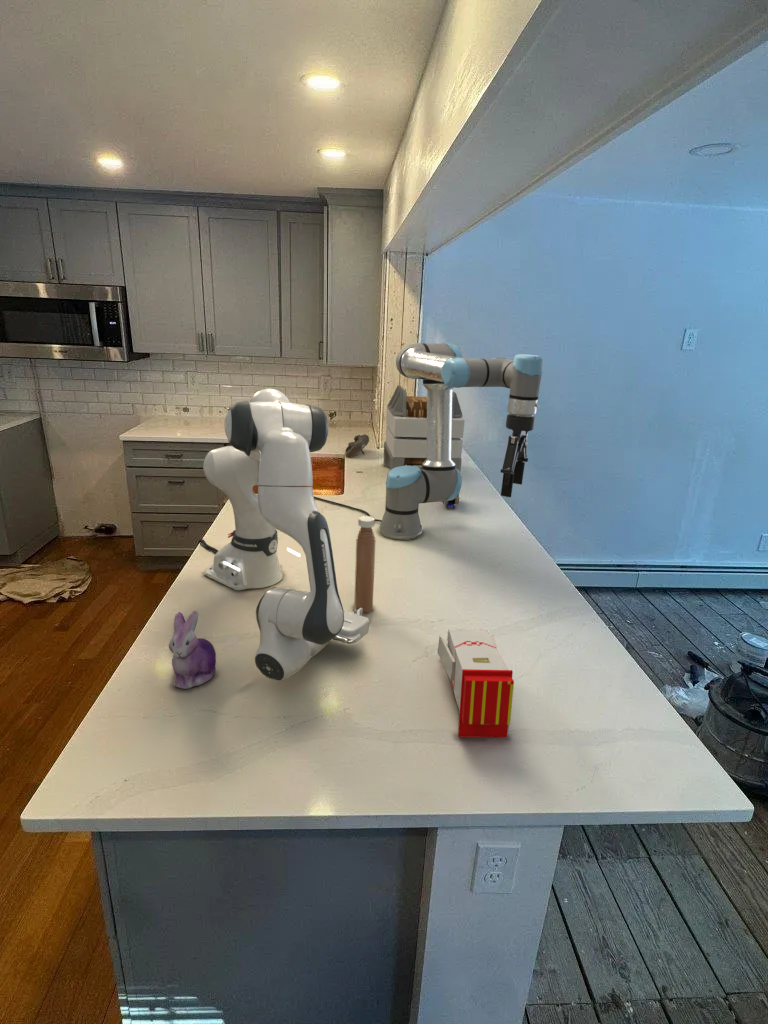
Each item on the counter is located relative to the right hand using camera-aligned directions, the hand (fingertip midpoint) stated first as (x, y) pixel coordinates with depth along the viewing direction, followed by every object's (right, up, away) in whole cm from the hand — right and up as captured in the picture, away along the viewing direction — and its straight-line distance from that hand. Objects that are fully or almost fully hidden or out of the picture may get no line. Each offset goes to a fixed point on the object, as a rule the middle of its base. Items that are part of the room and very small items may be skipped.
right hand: (511, 489), depth 159 cm
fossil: (-51, +25, +147) cm, 157 cm away
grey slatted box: (-19, +13, +116) cm, 118 cm away
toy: (-18, -44, -41) cm, 62 cm away
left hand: (-46, -29, -21) cm, 58 cm away
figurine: (-76, -41, -40) cm, 95 cm away
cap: (-40, -8, -18) cm, 45 cm away
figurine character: (-9, -3, +73) cm, 74 cm away
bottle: (-41, -32, -10) cm, 53 cm away
